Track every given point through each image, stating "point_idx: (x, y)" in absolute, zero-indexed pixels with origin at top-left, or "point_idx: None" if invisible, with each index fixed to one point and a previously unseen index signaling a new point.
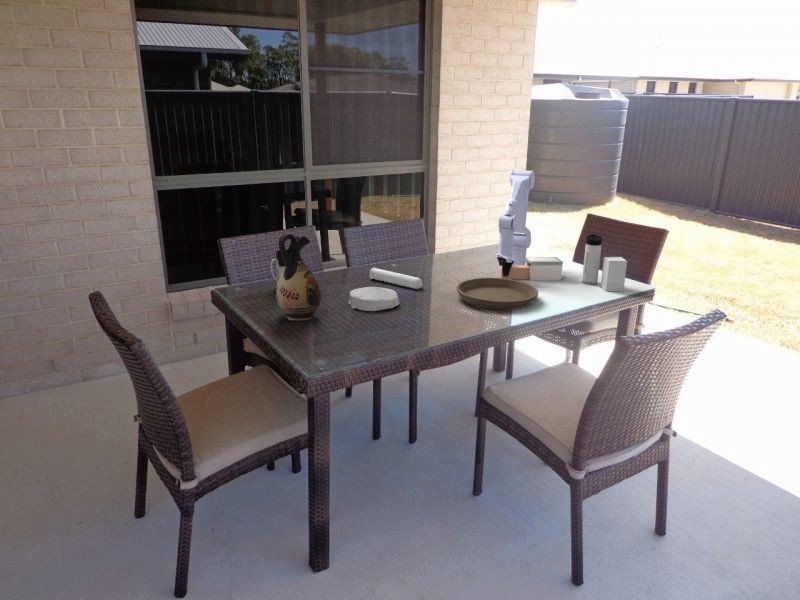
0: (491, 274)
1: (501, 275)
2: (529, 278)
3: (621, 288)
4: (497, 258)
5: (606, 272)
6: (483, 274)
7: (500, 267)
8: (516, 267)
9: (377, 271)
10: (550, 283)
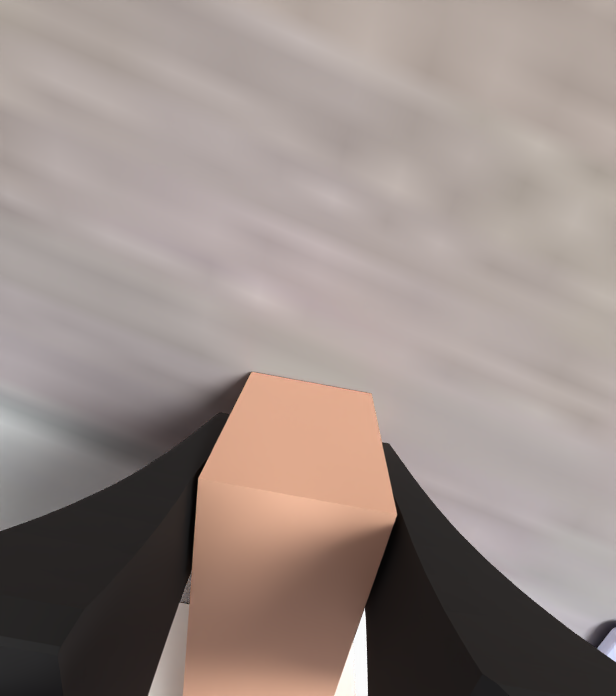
0: (518, 346)
1: (239, 399)
2: None
3: None
4: (562, 676)
5: None
6: (574, 227)
7: (310, 484)
8: (201, 673)
9: None
10: None
